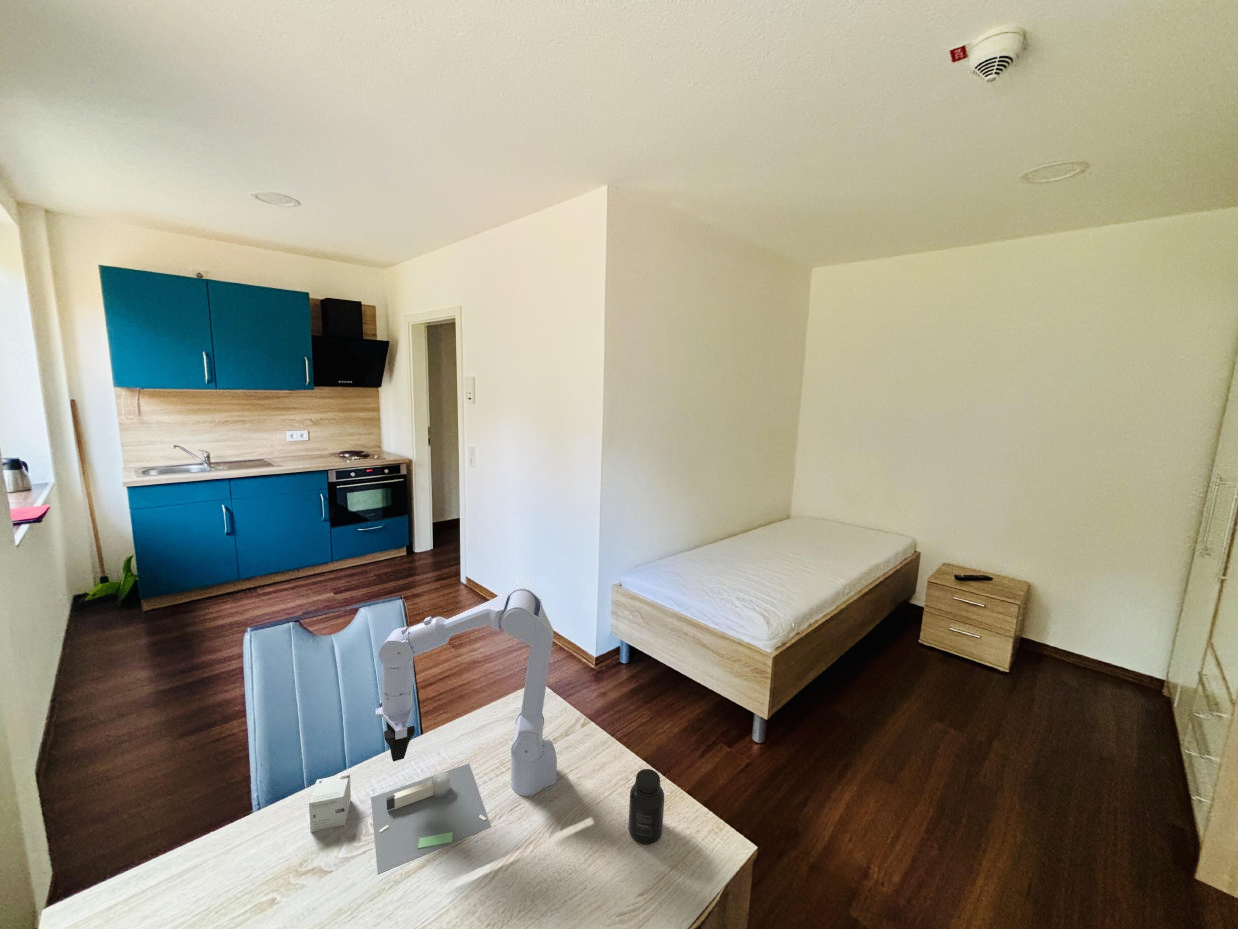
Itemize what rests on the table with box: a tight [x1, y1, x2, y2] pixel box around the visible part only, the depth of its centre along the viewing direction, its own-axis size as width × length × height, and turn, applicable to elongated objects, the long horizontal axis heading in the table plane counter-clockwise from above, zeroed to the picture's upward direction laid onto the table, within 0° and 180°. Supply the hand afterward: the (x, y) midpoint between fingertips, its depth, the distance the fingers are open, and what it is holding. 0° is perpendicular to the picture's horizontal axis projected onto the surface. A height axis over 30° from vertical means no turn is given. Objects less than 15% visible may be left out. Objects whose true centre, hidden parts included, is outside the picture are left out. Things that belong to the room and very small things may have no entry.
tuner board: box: [370, 763, 492, 875], centre depth 98 cm, size 20×18×1 cm
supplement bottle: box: [628, 768, 665, 846], centre depth 96 cm, size 7×7×12 cm
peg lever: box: [386, 771, 450, 810], centre depth 101 cm, size 12×4×3 cm, turn 120°
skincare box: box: [308, 773, 352, 833], centre depth 96 cm, size 6×6×7 cm
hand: (396, 746), depth 102 cm, fingers open, 7 cm apart
